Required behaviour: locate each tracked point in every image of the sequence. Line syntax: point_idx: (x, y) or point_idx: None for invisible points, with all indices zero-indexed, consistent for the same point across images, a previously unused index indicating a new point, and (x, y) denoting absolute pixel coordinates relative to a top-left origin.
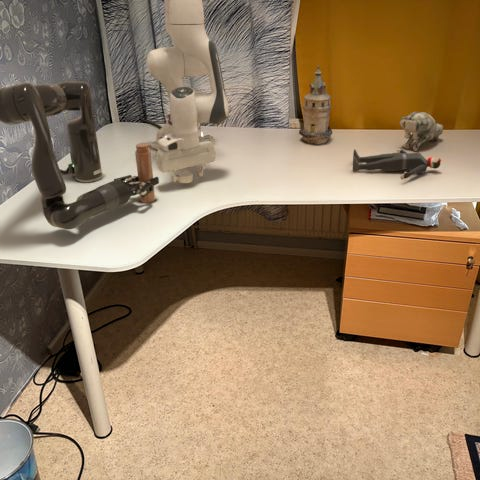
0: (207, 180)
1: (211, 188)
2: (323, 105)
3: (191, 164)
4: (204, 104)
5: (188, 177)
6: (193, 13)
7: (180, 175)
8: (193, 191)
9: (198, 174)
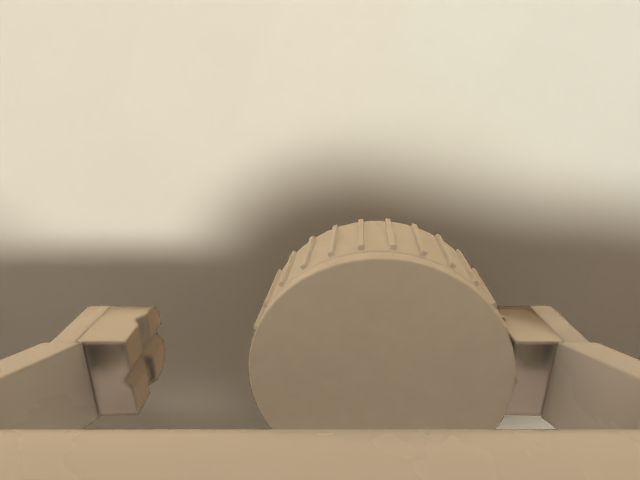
0: (73, 278)
1: (93, 7)
2: None
3: (247, 468)
4: None
5: (373, 251)
6: None
7: (485, 349)
8: (365, 48)
9: (148, 341)
